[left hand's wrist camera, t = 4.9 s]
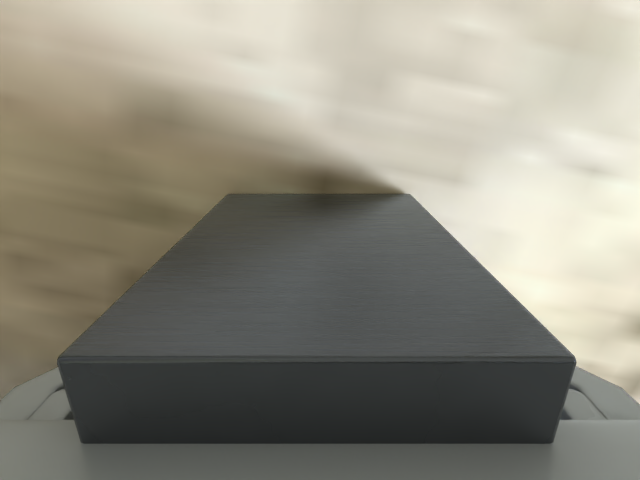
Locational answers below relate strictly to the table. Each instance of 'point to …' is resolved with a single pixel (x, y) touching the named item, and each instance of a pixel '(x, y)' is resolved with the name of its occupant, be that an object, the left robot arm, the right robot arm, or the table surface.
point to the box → (317, 336)
